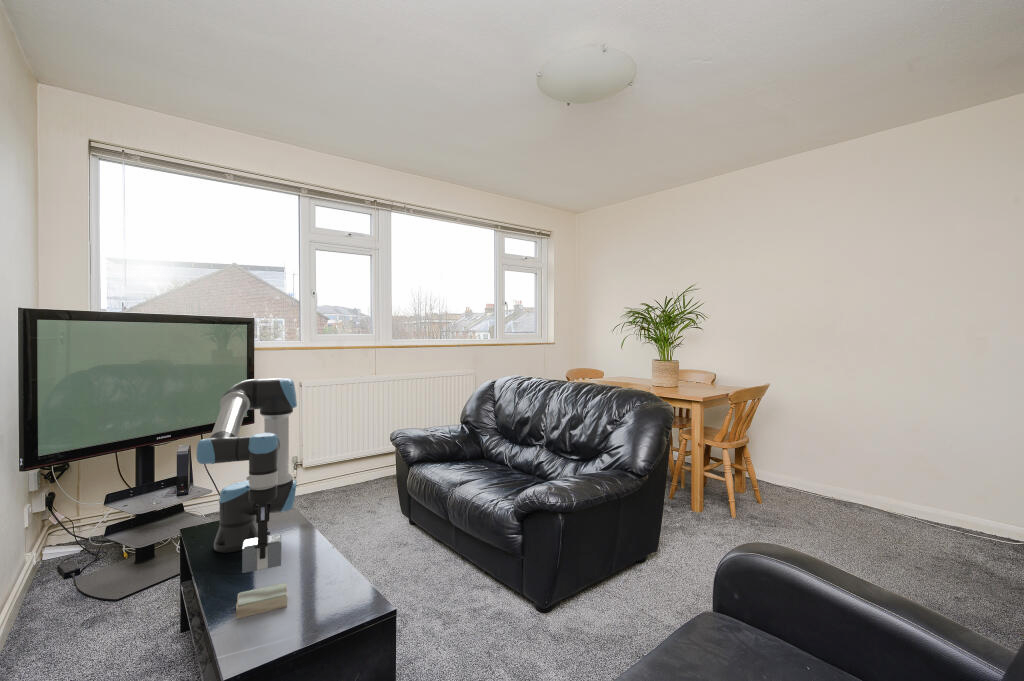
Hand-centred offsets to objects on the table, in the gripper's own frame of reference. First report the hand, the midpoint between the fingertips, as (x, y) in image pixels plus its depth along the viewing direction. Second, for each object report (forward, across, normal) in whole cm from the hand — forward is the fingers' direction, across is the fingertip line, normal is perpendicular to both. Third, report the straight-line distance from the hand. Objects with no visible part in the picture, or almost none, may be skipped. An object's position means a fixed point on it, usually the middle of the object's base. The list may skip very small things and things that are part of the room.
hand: (262, 563), depth 136 cm
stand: (+13, 0, 0) cm, 13 cm away
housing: (0, 0, 0) cm, 0 cm away
